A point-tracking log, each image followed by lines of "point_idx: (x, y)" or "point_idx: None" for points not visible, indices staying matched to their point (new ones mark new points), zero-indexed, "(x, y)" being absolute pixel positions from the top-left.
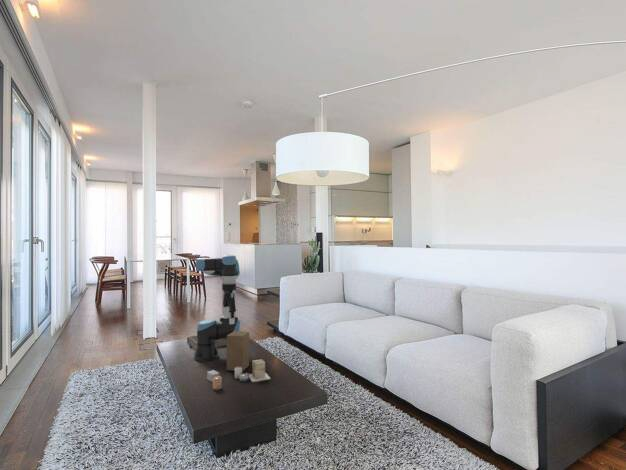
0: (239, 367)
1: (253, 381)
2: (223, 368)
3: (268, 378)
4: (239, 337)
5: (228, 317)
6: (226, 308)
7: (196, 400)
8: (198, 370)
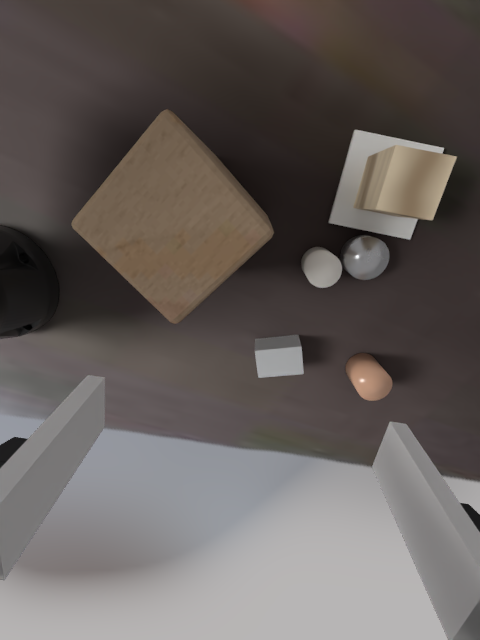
0: (321, 263)
1: (411, 233)
2: None
3: None
4: (254, 253)
5: (101, 385)
6: (16, 518)
7: None
8: (154, 359)
